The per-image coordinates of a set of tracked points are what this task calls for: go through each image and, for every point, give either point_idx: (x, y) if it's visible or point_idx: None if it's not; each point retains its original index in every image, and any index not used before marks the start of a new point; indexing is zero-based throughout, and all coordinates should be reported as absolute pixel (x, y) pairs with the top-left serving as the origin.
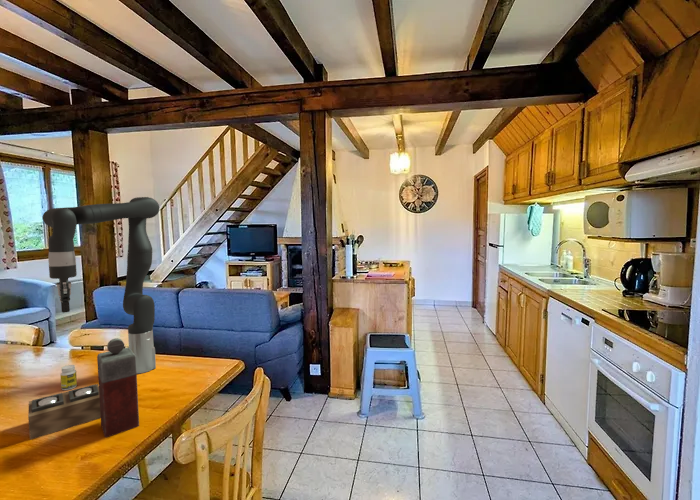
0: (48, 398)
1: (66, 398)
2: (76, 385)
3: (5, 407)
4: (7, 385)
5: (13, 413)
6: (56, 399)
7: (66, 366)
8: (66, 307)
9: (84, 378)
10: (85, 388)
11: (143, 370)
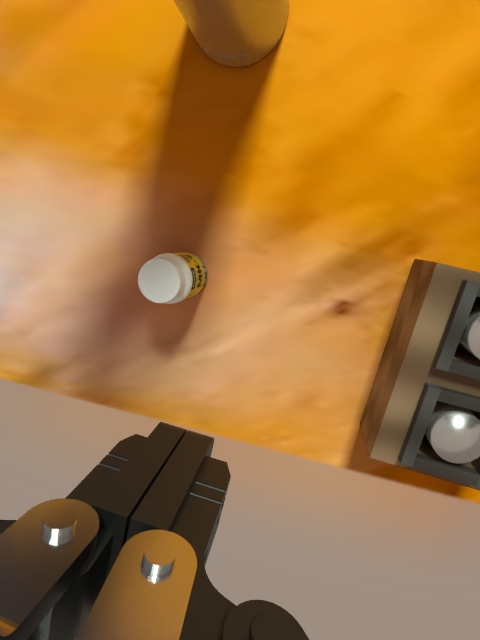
0: (442, 431)
1: (468, 383)
2: (197, 256)
3: (188, 427)
4: (15, 378)
5: (251, 428)
6: (475, 418)
7: (149, 283)
8: (218, 513)
9: (142, 212)
10: (477, 323)
11: (284, 20)
